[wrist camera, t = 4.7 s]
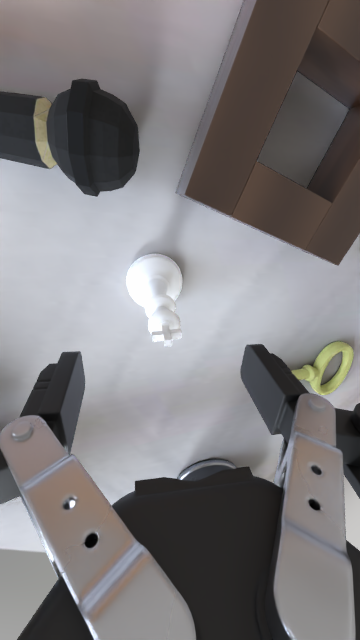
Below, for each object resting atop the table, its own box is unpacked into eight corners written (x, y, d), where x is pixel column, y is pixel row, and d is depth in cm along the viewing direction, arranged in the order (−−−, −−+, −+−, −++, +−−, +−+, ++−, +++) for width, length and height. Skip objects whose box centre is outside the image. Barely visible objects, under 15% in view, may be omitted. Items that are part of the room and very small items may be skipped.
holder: (413, 78, 19) (477, 55, 15) (308, 253, 24) (338, 265, 21) (262, -54, 15) (303, -128, 11) (175, 192, 20) (184, 195, 16)
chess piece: (182, 303, 24) (210, 372, 16) (130, 309, 24) (128, 383, 15) (181, 251, 22) (213, 297, 13) (122, 255, 21) (115, 307, 13)
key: (248, 370, 30) (256, 382, 28) (349, 335, 30) (364, 345, 28) (256, 410, 33) (264, 424, 31) (346, 379, 33) (359, 391, 31)
